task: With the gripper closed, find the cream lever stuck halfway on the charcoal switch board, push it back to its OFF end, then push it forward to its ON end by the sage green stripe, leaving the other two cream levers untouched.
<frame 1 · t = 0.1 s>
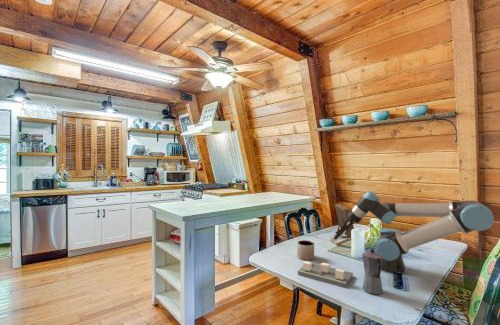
hand: (335, 239, 160), 15 cm above the table, tool tilted 35°, fingers open, 13 cm apart
switch board: (325, 275, 145), on the table
photo frame: (342, 235, 219), on the table
breaker 2: (339, 274, 137), point 4 cm above the table, slide at 3.5 cm
planter: (305, 257, 171), on the table
moka pot: (373, 291, 128), on the table
breaker 1: (307, 266, 147), point 4 cm above the table, slide at 3.5 cm
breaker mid: (325, 267, 145), point 4 cm above the table, slide at 0.0 cm
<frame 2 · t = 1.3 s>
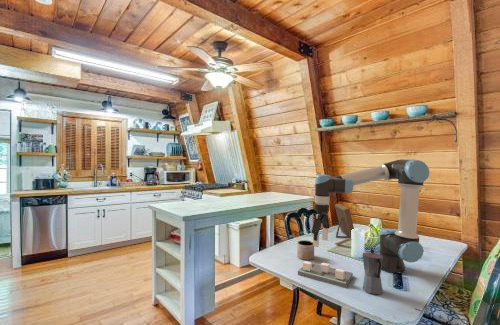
hand: (320, 243, 139), 20 cm above the table, tool pointing down, fingers open, 13 cm apart
nothing on the table moved.
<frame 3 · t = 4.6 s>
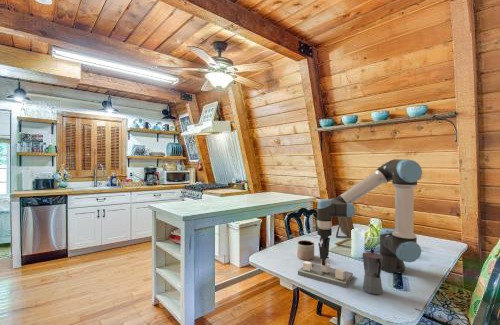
hand: (324, 270, 143), 4 cm above the table, tool pointing down, fingers closed
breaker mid: (325, 267, 145), point 4 cm above the table, slide at -0.1 cm, touching gripper
everything else where it was.
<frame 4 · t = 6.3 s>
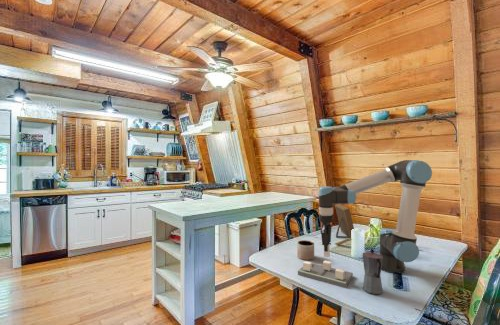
hand: (326, 256, 145), 10 cm above the table, tool pointing down, fingers closed
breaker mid: (327, 265, 148), point 4 cm above the table, slide at -3.5 cm
everything else where it was.
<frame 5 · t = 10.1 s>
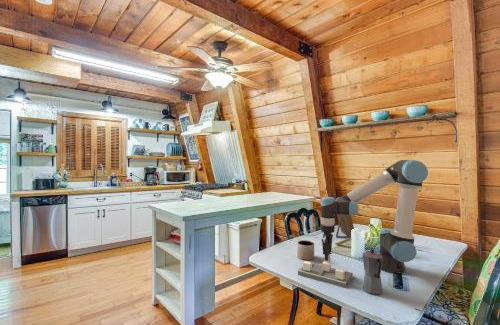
hand: (327, 265, 148), 4 cm above the table, tool pointing down, fingers closed
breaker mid: (326, 266, 146), point 4 cm above the table, slide at -1.9 cm, touching gripper
everything else where it was.
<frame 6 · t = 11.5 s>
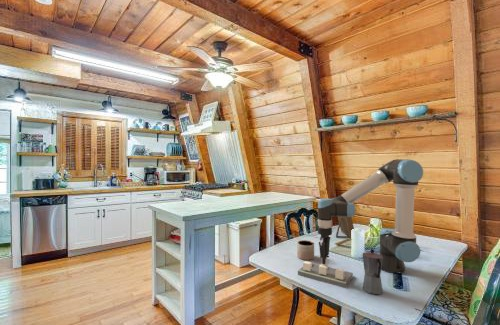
hand: (324, 269, 144), 4 cm above the table, tool pointing down, fingers closed
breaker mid: (323, 269, 142), point 4 cm above the table, slide at 3.2 cm, touching gripper
everything else where it was.
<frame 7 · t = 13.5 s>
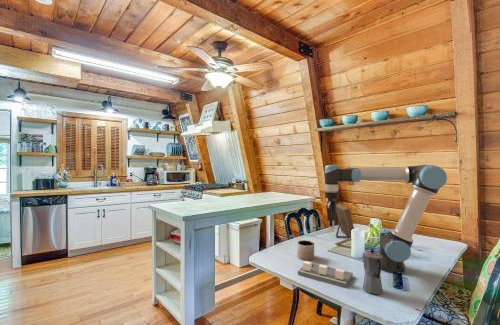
hand: (331, 231, 153), 22 cm above the table, tool pointing down, fingers closed
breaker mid: (323, 269, 142), point 4 cm above the table, slide at 3.2 cm
everything else where it was.
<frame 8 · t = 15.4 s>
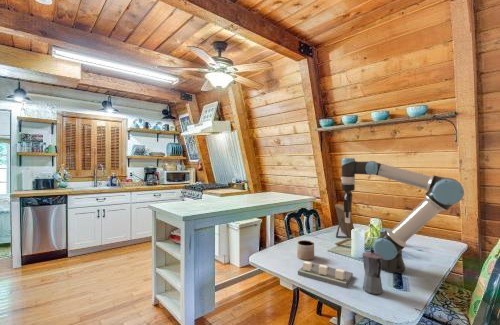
hand: (347, 222, 157), 26 cm above the table, tool pointing down, fingers closed
nothing on the table moved.
at the end: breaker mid slide at 3.2 cm; breaker 2 slide at 3.5 cm; breaker 1 slide at 3.5 cm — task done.
